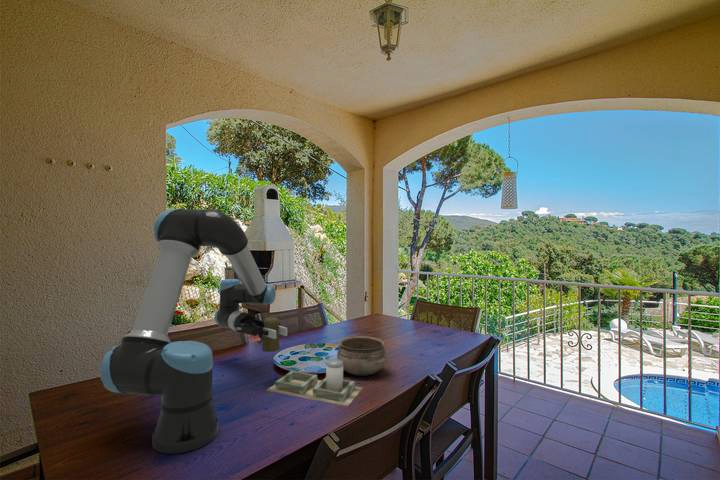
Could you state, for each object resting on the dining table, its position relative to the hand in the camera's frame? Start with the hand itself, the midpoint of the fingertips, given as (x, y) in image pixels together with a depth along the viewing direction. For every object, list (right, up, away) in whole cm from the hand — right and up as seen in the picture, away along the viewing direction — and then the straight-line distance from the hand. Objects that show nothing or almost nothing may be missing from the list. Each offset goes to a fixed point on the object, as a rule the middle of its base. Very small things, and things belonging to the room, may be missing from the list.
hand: (280, 333), depth 117 cm
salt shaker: (+19, -18, -5) cm, 27 cm away
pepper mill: (-4, -7, +3) cm, 9 cm away
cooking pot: (+28, -20, +14) cm, 37 cm away
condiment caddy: (+12, -19, -3) cm, 23 cm away
